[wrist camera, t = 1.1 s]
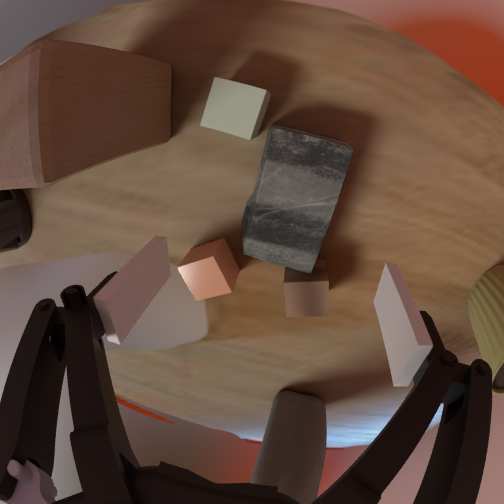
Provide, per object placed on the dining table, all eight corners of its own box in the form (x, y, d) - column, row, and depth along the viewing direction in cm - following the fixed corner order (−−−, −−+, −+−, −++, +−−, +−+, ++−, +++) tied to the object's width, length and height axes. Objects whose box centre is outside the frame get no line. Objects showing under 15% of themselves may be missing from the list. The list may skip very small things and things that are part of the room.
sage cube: (215, 123, 29) (200, 125, 24) (227, 82, 26) (214, 76, 22) (257, 136, 29) (250, 140, 24) (271, 94, 26) (266, 90, 22)
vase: (295, 420, 53) (279, 544, 27) (253, 398, 51) (222, 536, 25) (340, 400, 48) (337, 542, 21) (297, 375, 45) (278, 542, 19)
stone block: (240, 235, 35) (230, 255, 30) (266, 119, 28) (259, 120, 23) (309, 254, 35) (310, 277, 30) (346, 142, 28) (355, 147, 23)
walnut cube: (288, 293, 38) (286, 317, 33) (286, 260, 35) (283, 282, 31) (325, 291, 37) (327, 315, 32) (325, 258, 34) (328, 280, 30)
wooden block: (107, 74, 27) (-25, 80, 9) (175, 61, 26) (42, 32, 8) (107, 146, 32) (-18, 195, 14) (174, 142, 30) (44, 191, 13)
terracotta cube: (207, 279, 39) (196, 300, 34) (191, 248, 37) (177, 267, 32) (240, 270, 37) (231, 292, 33) (224, 237, 35) (213, 256, 31)
